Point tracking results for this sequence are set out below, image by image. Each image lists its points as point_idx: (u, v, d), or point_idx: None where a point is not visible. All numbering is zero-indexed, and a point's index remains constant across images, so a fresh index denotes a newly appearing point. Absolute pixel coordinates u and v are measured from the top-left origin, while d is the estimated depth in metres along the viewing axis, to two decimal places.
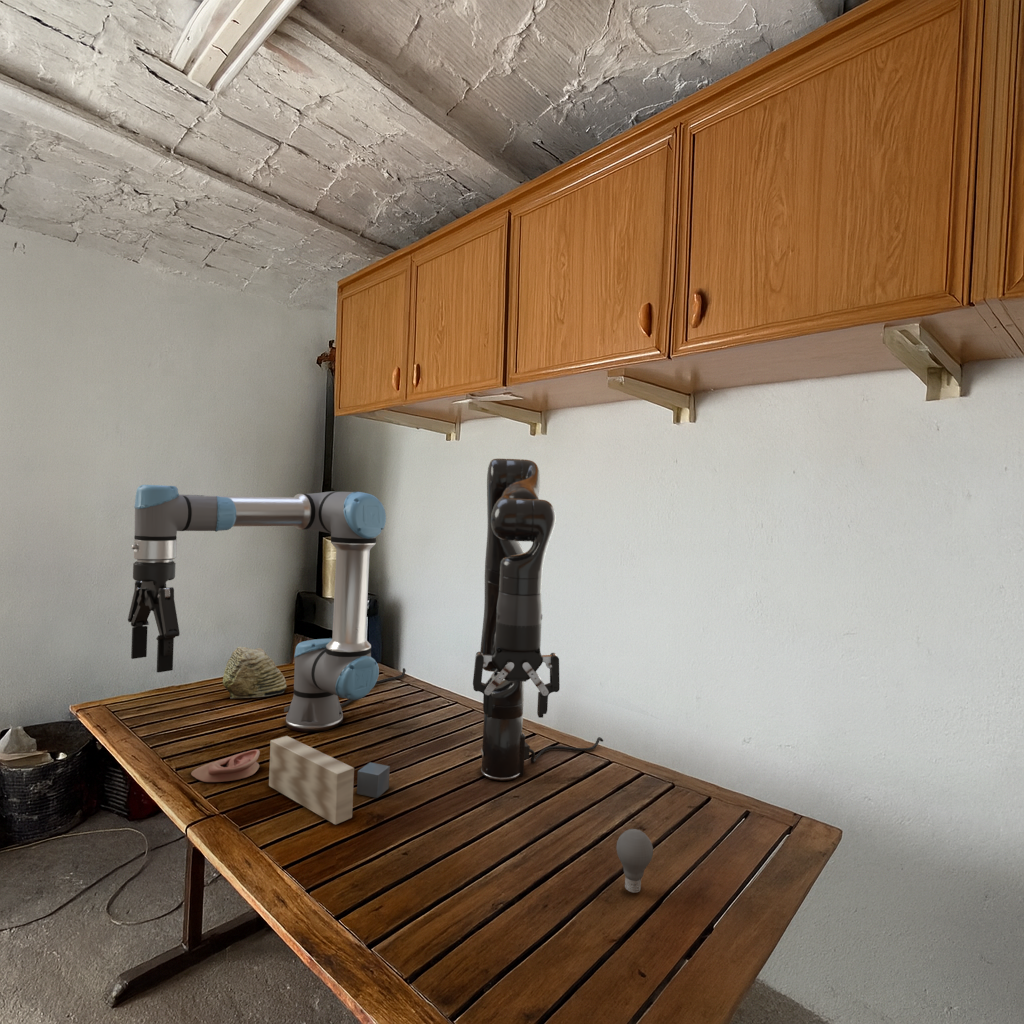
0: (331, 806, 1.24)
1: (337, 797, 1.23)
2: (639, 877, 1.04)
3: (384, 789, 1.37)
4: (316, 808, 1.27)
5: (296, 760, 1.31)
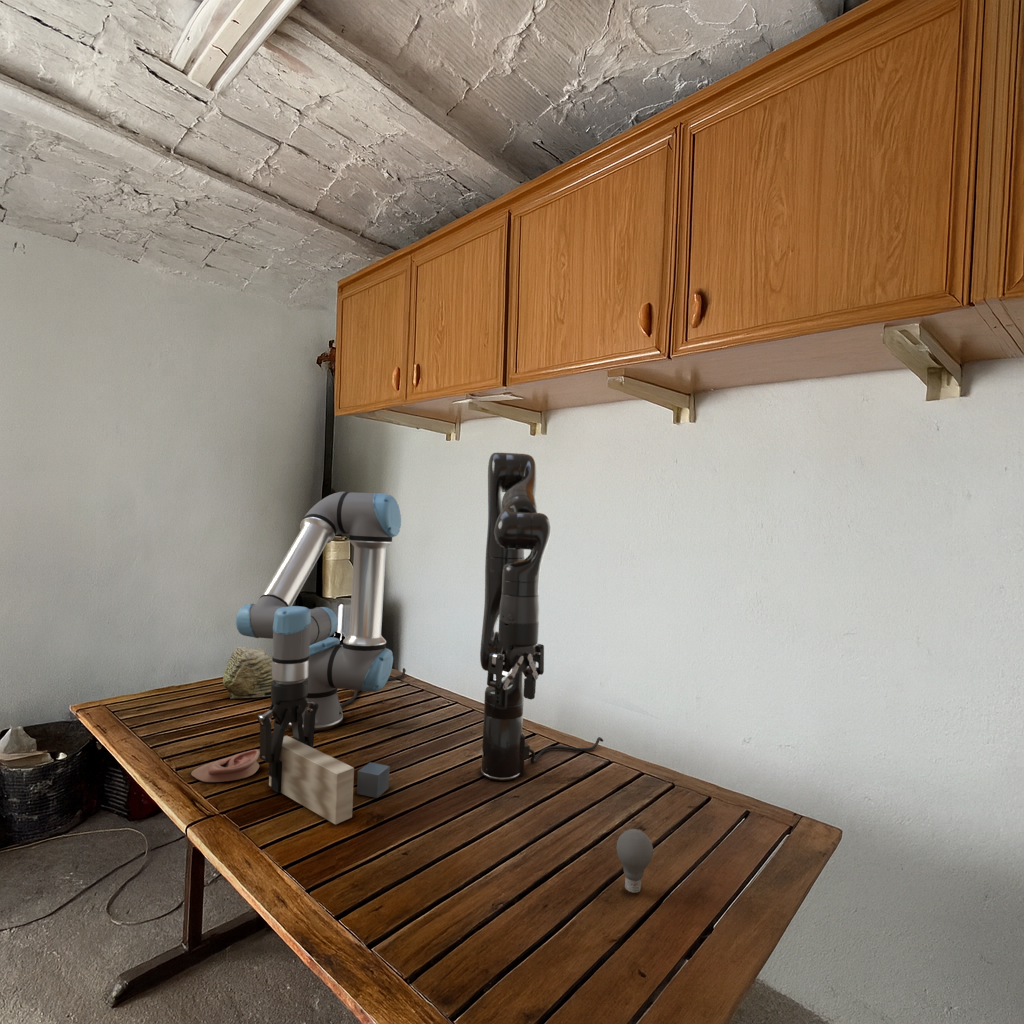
0: (331, 806, 1.24)
1: (337, 797, 1.23)
2: (639, 877, 1.04)
3: (384, 789, 1.37)
4: (316, 808, 1.27)
5: (296, 760, 1.31)
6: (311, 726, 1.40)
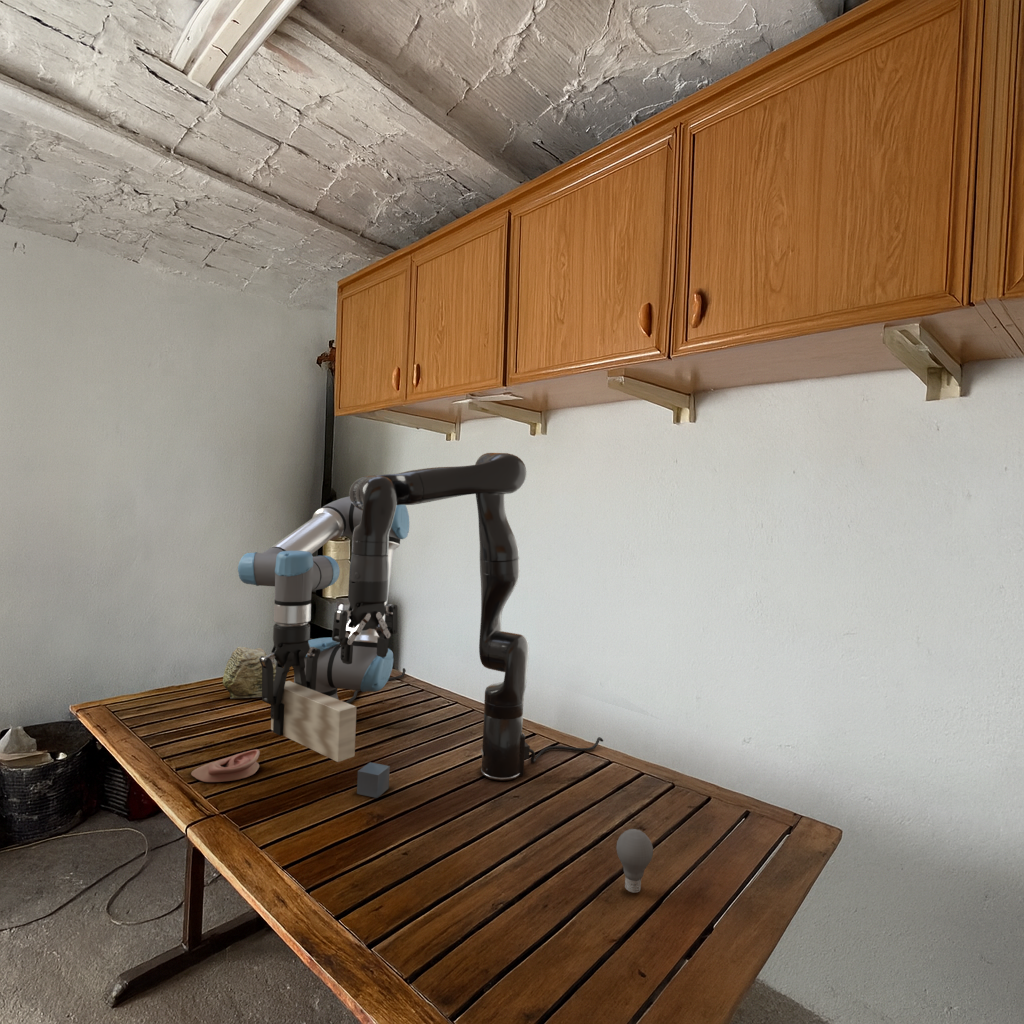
0: (333, 744, 1.23)
1: (340, 734, 1.23)
2: (639, 877, 1.04)
3: (384, 789, 1.37)
4: (318, 748, 1.26)
5: (298, 702, 1.31)
6: (314, 671, 1.40)
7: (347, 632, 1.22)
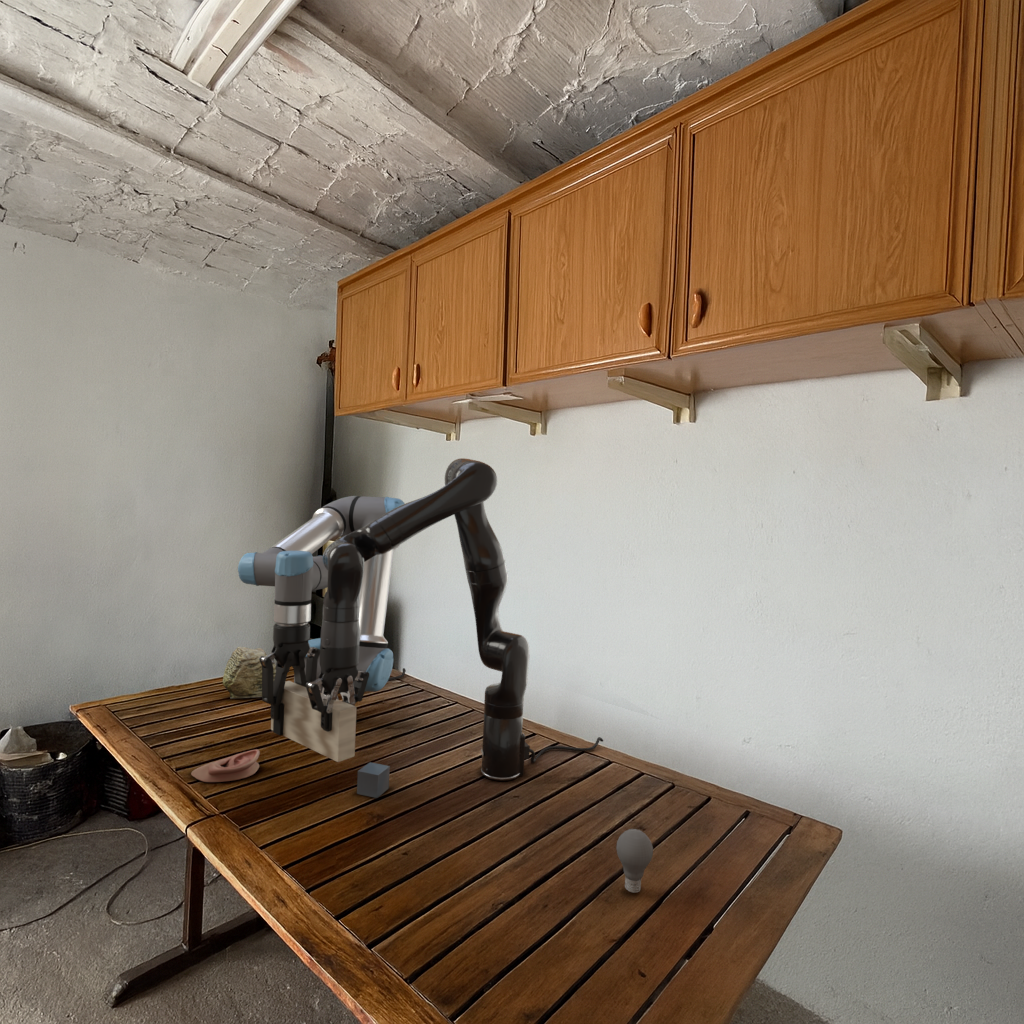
0: (333, 744, 1.23)
1: (340, 734, 1.23)
2: (639, 877, 1.04)
3: (384, 789, 1.37)
4: (318, 748, 1.26)
5: (298, 702, 1.31)
6: (314, 671, 1.40)
7: (324, 699, 1.24)
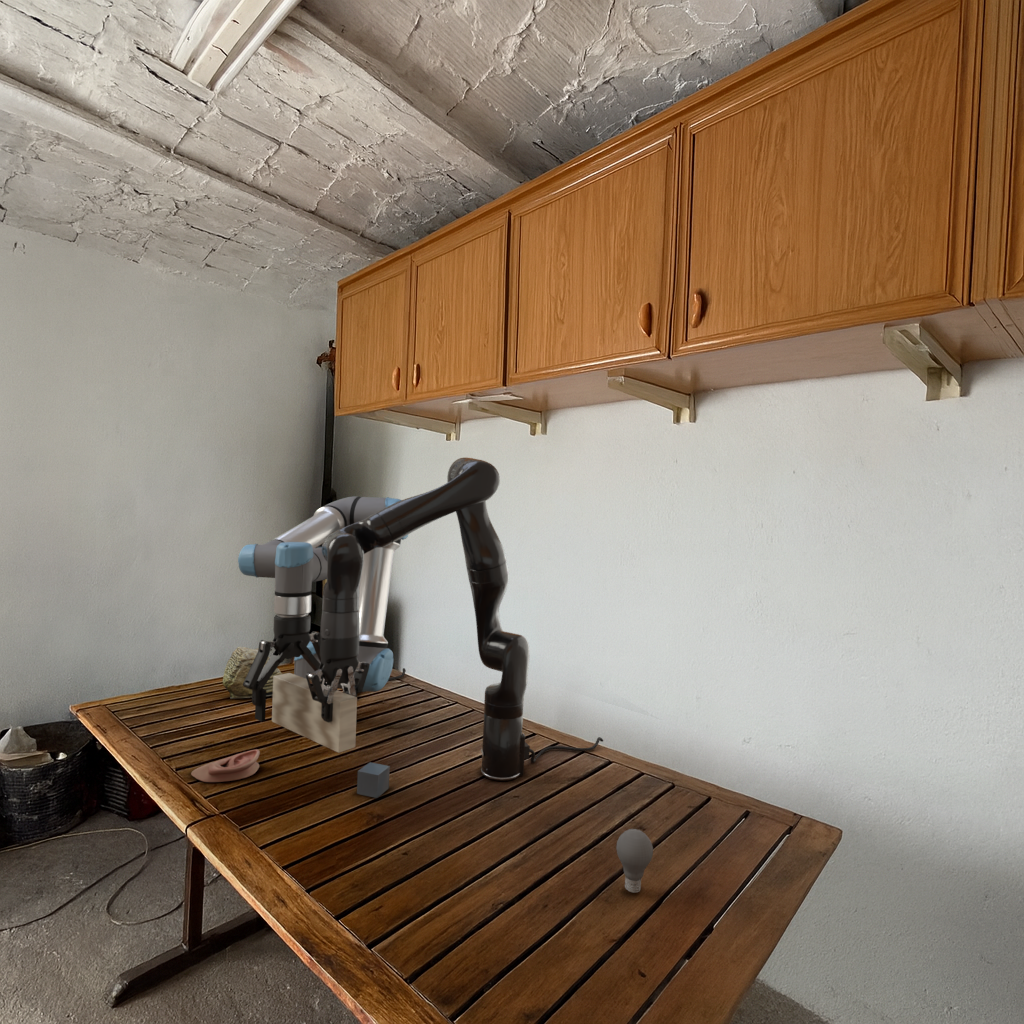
0: (334, 735, 1.23)
1: (340, 725, 1.23)
2: (639, 877, 1.04)
3: (384, 789, 1.37)
4: (319, 739, 1.27)
5: (299, 693, 1.31)
6: None
7: (325, 690, 1.24)
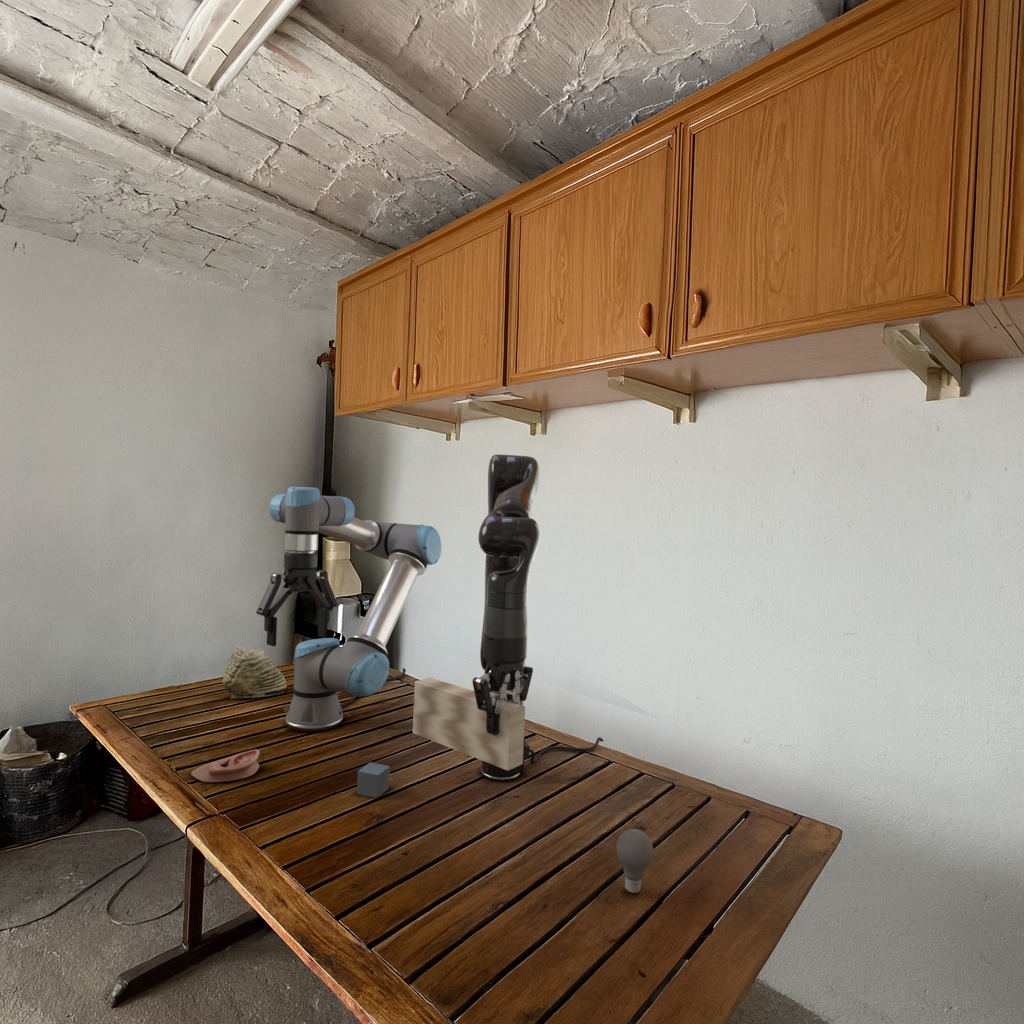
0: (502, 750, 1.07)
1: (510, 738, 1.06)
2: (639, 877, 1.04)
3: (384, 789, 1.37)
4: (480, 754, 1.10)
5: (451, 701, 1.15)
6: (329, 590, 1.56)
7: None
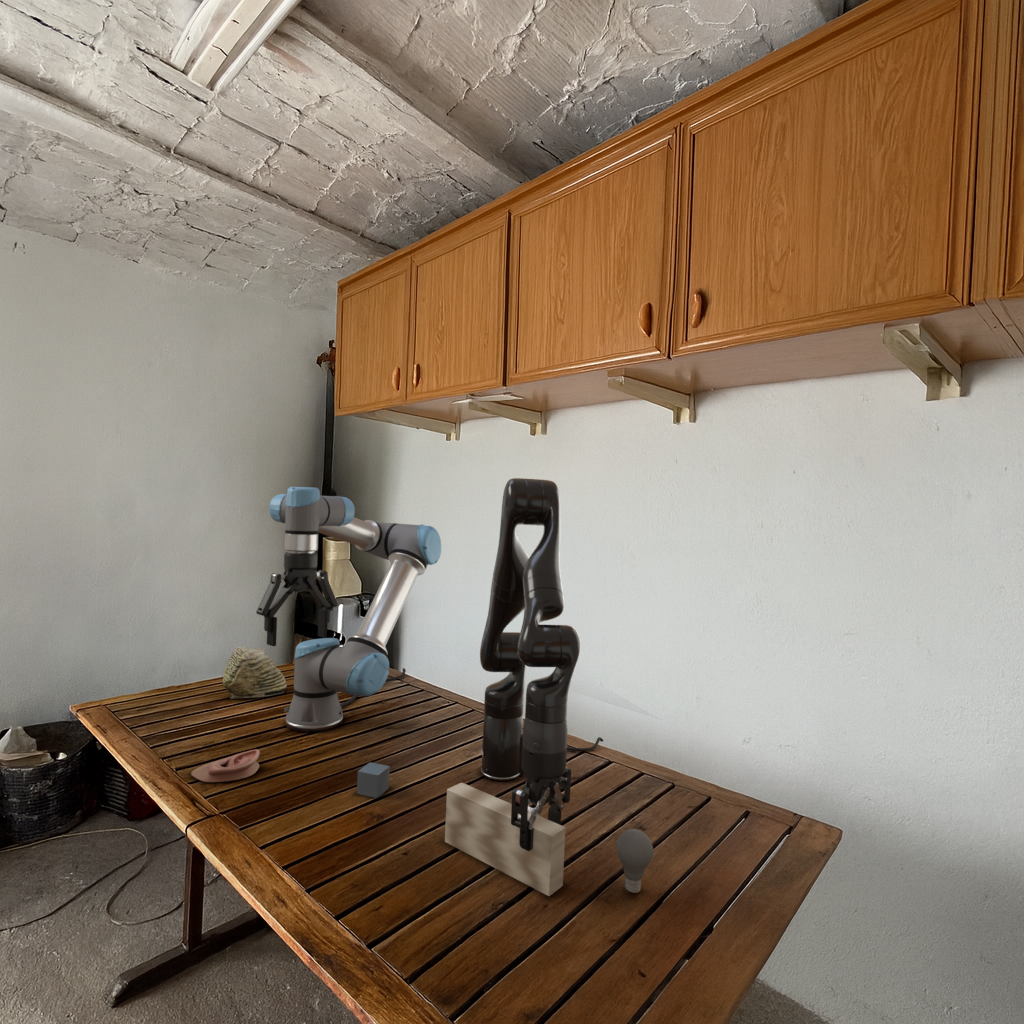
0: (542, 874, 1.04)
1: (551, 863, 1.03)
2: (639, 877, 1.04)
3: (384, 789, 1.37)
4: (518, 875, 1.07)
5: (486, 815, 1.12)
6: (329, 590, 1.56)
7: None
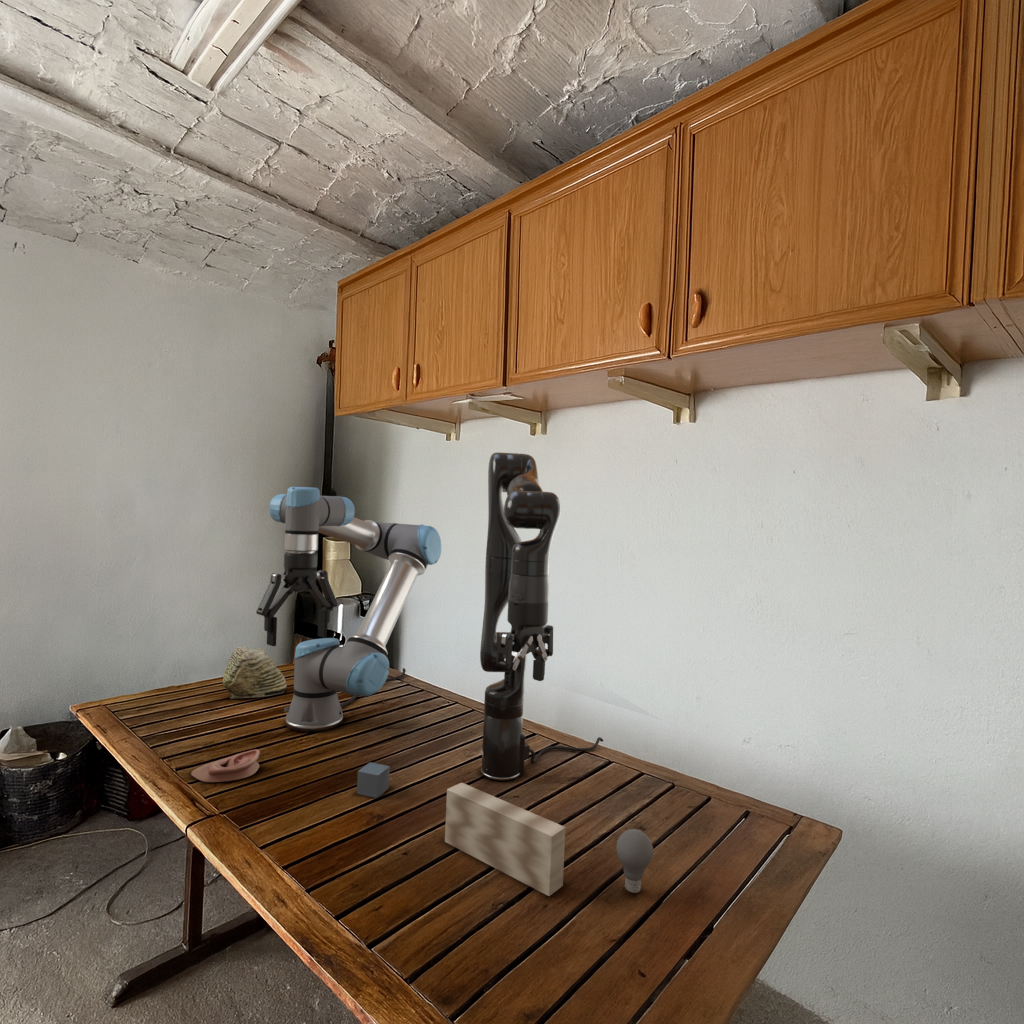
0: (542, 874, 1.04)
1: (551, 863, 1.03)
2: (639, 877, 1.04)
3: (384, 789, 1.37)
4: (518, 875, 1.07)
5: (486, 815, 1.12)
6: (329, 590, 1.56)
7: None
